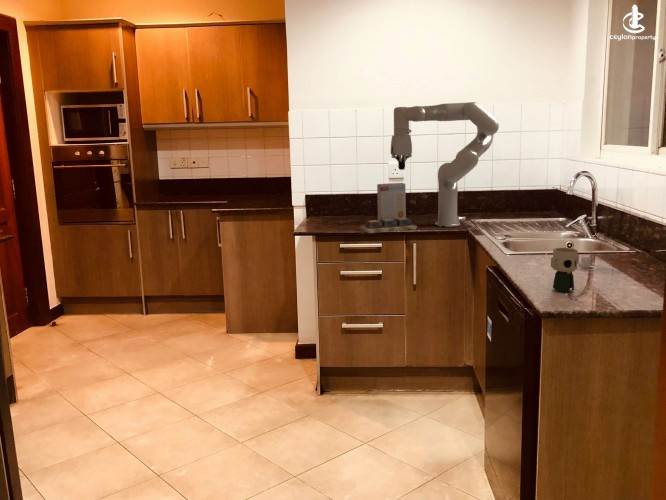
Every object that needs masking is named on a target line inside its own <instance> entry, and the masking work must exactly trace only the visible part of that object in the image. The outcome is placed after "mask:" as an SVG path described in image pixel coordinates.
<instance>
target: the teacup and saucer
mask: <svg viewBox="0 0 666 500" xmlns="http://www.w3.org/2000/svg"><path fill="white" fill-rule="evenodd" d="M580 259H581V260H579V262H578V264H577V269H576V270H580V271H584V270H589V269H590V268H593V269H590V271H596V270H598V267H596V266H594V265H591V261H592V260H591V259H592V258H591V257H589V256H582V257H581V258H580ZM578 267H581V268H578Z"/></svg>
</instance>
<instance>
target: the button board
mask: <svg viewBox="0 0 666 500" xmlns="http://www.w3.org/2000/svg"><path fill="white" fill-rule="evenodd" d="M406 218H407V217H406ZM407 219H409V220H398V219H394V221H383V220H380V221H379V222H373V223H370V222H368V221H369V220H364V225H363V226H359V230H360V231H362V232H364V233H367V234H375V233H386V232H387V233H388V232H397V231H408V229H411V230H417V229H418V225H415V224H412V218H411V219H410V218H407ZM392 220H393V219H392ZM377 221H378V219H377ZM416 228H417V229H416Z"/></svg>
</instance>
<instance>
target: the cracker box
mask: <svg viewBox="0 0 666 500" xmlns="http://www.w3.org/2000/svg"><path fill="white" fill-rule="evenodd" d="M376 186H377V187H376V188H377V189H376V190H377V191H376V192H377V193H376V194H377V220H378V221H380V220H382V219H393V220H394V219H397V218H407V217H406V216H407V213H406V212H407V211H406V210H407V208H406V207H407V205H406V203H407V201H406V183H405V182H395V183H394V182H392V183H390V182H389V183H377V184H376Z"/></svg>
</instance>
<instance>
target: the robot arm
mask: <svg viewBox="0 0 666 500" xmlns="http://www.w3.org/2000/svg"><path fill="white" fill-rule="evenodd" d="M431 121H432V122H433V121H435V122H436V121H437V122H452V121H453V122H454V121H470V122H471V123H473V125H474V126H476V130H477V133H476V135H475V137H474V138H473V139H472V140H471V142H469V143H468V144H467V145H465V146H464V147H463V148H462V149H461V150H460V151H458V152H457V153H456V156H455V158H454V159H453V160H452V161H450V162H445V163H443V164H441V165H440V166H439V168H438V170H437V183H438V184H437V185H438V191H437V192H438V193H437V195H438V196H437V197H438V200H437V202H438V203H437V204H438V205H437V207H438V209H437V212H438V213H437V215H438V216H437V221H435V222H434V225H435V226H436V225H437V227H442V226H445V227H444V228H448V227H449V228H451V227H453V226H454V227H458V226H460V225H461V221H463V222H464V221H466V219H467V217H466V216H459V215H458V191H459V190H458V182H459V181H460V180H462V179H463V178H464V177H465V176H466V175H467V174H469V173H470V172H471V171H472V170H474V168H475V167H476V166H477V165H478V162H479V158H480V157H481V156H482V155H484V154H485V152H487V151H488V149H490V147H491V145H492V144H493V140H494V135H495V134H496V133H497V132H498V131H499V127H500V124H499V122H498V120H497V119H496V118H495V117H494V116H493V115H492V114H491V113H489V112H488V110H486V108H484V107H483V106H481V104H480V103H477V102H475V101H470V102H451V103H440V104H435V105H423V106H422V105H414V106H409V107H408V106H396V107H395V108H393V134H392V135H391V141H390V155H391V159H395V160H396V161H397V163H398V164H397V165H398V169H399V170H400V171H403V170H405V168H406V161H407V160H408V159H409V158H412V156H413V155H412V153H413V143H412V137H411V134H410V133H412V130H411V129H410V122H415V123H416V122H417V123H418V122H431Z"/></svg>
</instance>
